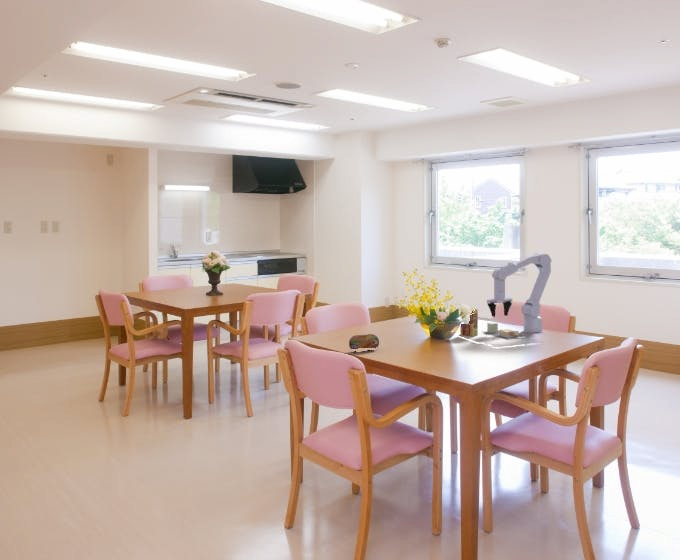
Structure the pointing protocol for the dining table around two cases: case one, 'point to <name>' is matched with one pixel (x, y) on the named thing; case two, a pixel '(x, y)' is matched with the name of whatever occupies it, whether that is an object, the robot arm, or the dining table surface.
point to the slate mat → (505, 337)
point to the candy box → (470, 325)
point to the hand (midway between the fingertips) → (499, 316)
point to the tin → (364, 341)
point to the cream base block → (509, 333)
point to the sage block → (492, 327)
